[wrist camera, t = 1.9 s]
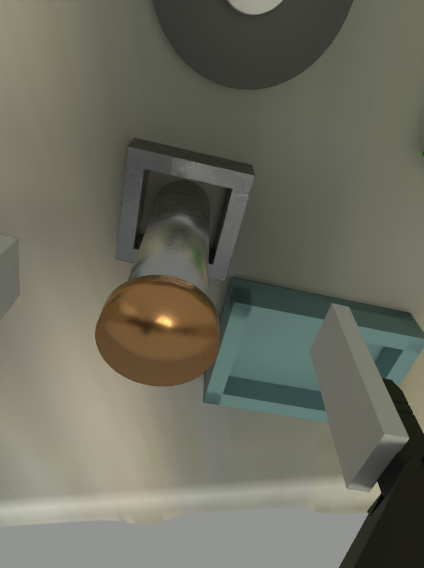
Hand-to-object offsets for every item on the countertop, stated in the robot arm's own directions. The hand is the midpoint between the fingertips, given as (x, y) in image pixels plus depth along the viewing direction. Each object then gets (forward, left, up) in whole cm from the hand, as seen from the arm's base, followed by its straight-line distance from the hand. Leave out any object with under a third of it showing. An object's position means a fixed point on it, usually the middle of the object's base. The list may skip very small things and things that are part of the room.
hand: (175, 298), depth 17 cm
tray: (+11, -9, -10) cm, 17 cm away
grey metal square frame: (0, 0, -10) cm, 10 cm away
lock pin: (0, 0, -10) cm, 10 cm away
